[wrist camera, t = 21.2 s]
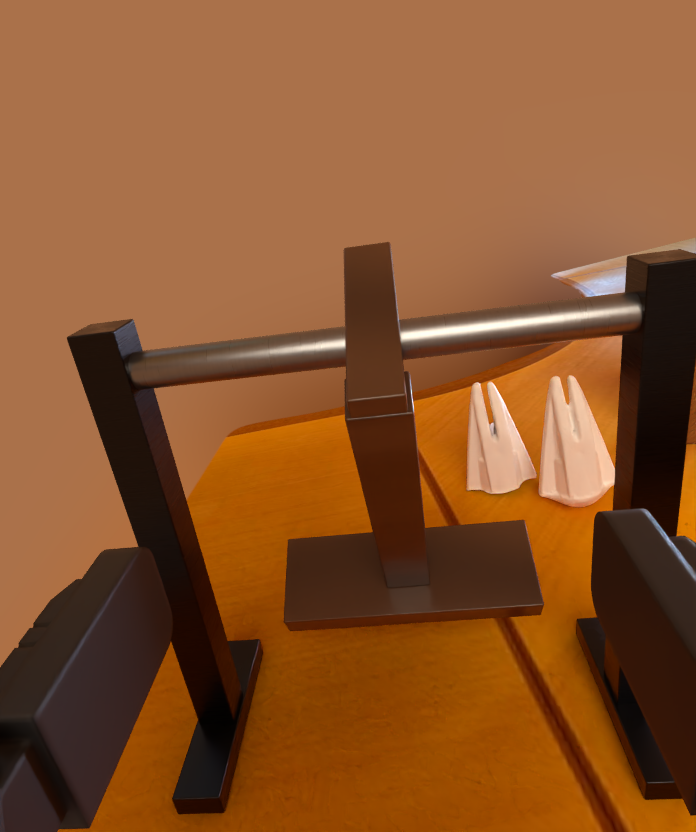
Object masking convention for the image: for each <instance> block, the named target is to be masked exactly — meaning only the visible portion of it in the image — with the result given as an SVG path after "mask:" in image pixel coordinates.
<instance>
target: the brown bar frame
mask: <svg viewBox="0 0 696 832" xmlns="http://www.w3.org/2000/svg"><path fill="white" fill-rule="evenodd" d="M344 294H345V347H346V379H345V421H346V425H347V429H348V433H349V437H350V441H351V445H352V449H353V453H354V457H355V461H356V465H357V469H358V473H359V477H360V481H361V485H362V489H363V493H364V497H365V501H366V505H367V510H368V514H369V518H370V522H371V526H372V530H373V532H372V533H360V534H348V535H336V536H324V537H311V538H299V539H289V540H288V550H287V569H286V588H285V606H284V623H285V625H286V626H287V627H288V629H289V630H290V631H302V630H318V629H333V628H348V627H364V626H379V625H394V624H409V623H425V622H440V621H455V620H471V619H486V618H501V617H517V616H532V615H541V612H542V609H543V606H544V602H543V598H542V593H541V589H540V585H539V580H538V576H537V572H536V568H535V563H534V559H533V555H532V550H531V546H530V542H529V537H528V533H527V529H526V524H525V521H524V520H517V521H505V522H493V523H481V524H468V525H456V526H444V527H432V528H425V523H424V513H423V502H422V491H421V480H420V469H419V458H418V448H417V437H416V426H415V415H414V406H413V397H412V388H411V379H410V373H409V372H407V371H406V372H404V366H403V356H402V347H401V337H400V328H399V319H398V309H397V300H396V290H395V280H394V271H393V261H392V252H391V244H390V242H385V243H378V244H371V245H363V246H357V247H349V248H345V249H344Z"/></svg>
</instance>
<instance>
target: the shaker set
mask: <svg viewBox="0 0 696 832" xmlns="http://www.w3.org/2000/svg"><path fill="white" fill-rule="evenodd" d="M567 384H568V391H569V398H570V402H569V405H567V404H566V401H565V397H564V393H563V389H562V385H561V381H560V378H559V377H558V376H554V377H552V378H551V379H550V383H549V388H548V395H547V401H546V409H545V419H544V429H543V439H542V451H541V466H540V480H539V495H540V496H542V497H546V498H549V499H552V500H555V501H558V502H560V503H563V504H565V505H568V506H571V507H584V506H588V505H591V504H593V503H595V502H596V501H597V500H599V499H600V498H601V497H602V496H603V495H604V494H605V493H606V492H607V490H608V489H609V488H610V487H611V486H613V485H614V480H615V468H614V466H613V463H612V460H611V458H610V455H609V453H608V451H607V448H606V446H605V443H604V441H603V438H602V436H601V433H600V431H599V429H598V426H597V424H596V422H595V419H594V417H593V415H592V412H591V410H590V408H589V405H588V403H587V400H586V398H585V396H584V394H583V391H582V389H581V387H580V386H579V384H578V382H577V380H576V379H575V377H573V376H571V375H569V376H568V378H567ZM487 388H488V396H489V400H490V405H491V409H492V413H493V420H494V422H493V423H491V424H490V425H489V422H488V417H487V412H486V408H485V403H484V399H483V395H482V390H481V387H480V384H479V383H474V384H473V385H472V390H471V397H470V407H469V422H468V443H467V477H466V478H467V486H466V489H467V491H469V490H484V491H485V492H487V493H490V494H493V493H507V492H510V491H512V490H515V489H518V488H519V487H520V484H521V483H522V482H523V481H525V480H528V479H530V478H532V479H533V478H534V479H535V478H536V477H537V475H536V472H535V469H534V467H533V465H532V464H533V463H532V462H531V457H529V456H528V452H527V449H525V446H524V444H523V442H522V440H521V437H520V435H519V433H518V431H517V429H516V428H517V427H515V424H514V422H513V420H512V418H511V416H510V414H509V412H508V410H507V407H506V405H505V403H504V401H503V399H502V398H501V396H500V394H499V392H498V390H497V389H496V387H495V385H494V384H493V383H492V382H488V384H487Z"/></svg>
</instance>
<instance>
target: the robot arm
mask: <svg viewBox="0 0 696 832" xmlns="http://www.w3.org/2000/svg"><path fill="white" fill-rule="evenodd" d="M591 591H592V598H593V604H594V608H595V611H596V615H597V617H598V620H599V622H600V624H601V627H602V629H603V631H604V633H605V635H606V637H607V639H608V641H609V644H610V646H611V648H612V650H613V652H614V654H615V656H616V658H617V660H618V663H619V665H620V667H621V669H622V671H623V673H624V675H625V677H626V680H627V682H628V684H629V686H630V688H631V690H632V692H633V694H634V696H635V699H636V701H637V703H638V705H639V707H640V709H641V711H642V713H643V716H644V718H645V720H646V722H647V724H648V726H649V728H650V730H651V732H652V735H653V737H654V739H655V741H656V743H657V745H658V747H659V749H660V751H661V754H662V756H663V758H664V760H665V762H666V764H667V766H668V768H669V771H670V773H671V775H672V777H673V779H674V781H675V783H676V785H677V787H678V790H679V792H680V794H681V796H682V798H683V800H684V802H685V804H686V807H687V809H688V811H689V813H690V815H696V543H695V542H693V541H692V540H690V539H689V538H687V537H686V536H675V537H668V536H667V534H666V533H665V532H664V530H663V529H662V528H661V526H660V525H659V524H658V523H657V521H656V520H655V519H654V517H653V516H652V515H651V513H650V512H649V511H648V510H646V509H644V508H641V509H628V510H615V511H603V512H598V513H597V514H596V516H595V519H594V532H593V553H592V573H591ZM172 631H173V617H172V611H171V607H170V604H169V601H168V598H167V595H166V592H165V589H164V586H163V583H162V580H161V577H160V574H159V571H158V568H157V565H156V562H155V559H154V556H153V554H152V552H151V551H150V549H149V548H147V547H134V548H120V549H108V550H104V551H103V552H101V553H100V554H99V556H98V557H97V558H96V560H95V561H94V563H93V564H92V565H91V567H90V568H89V570H88V571H87V573H86V574H85V575H84V577H83V578H82V579H77V580H75V581H74V582H73V583H71V584H70V585H69V586H68V587H66V588H65V589H64V590H63V591H61V592H60V593H59V594H58V595H56V596H55V597H54V598H53V599H52V600H50V602H49V603H48V604H47V606H46V607H45V609H44V610H43V611H42V612H41V614H40V615H39V616H38V618H37V619H36V621H35V622H34V626H33V628H30V629H29V630H28V631H27V633H26V634H25V635H24V636H23V638H22V639H21V640H20V642H19V647H18V648H15V649H14V650H13V651H12V653H11V654H10V655H9V656H8V658H7V659H6V660H5V662H4V663H3V665H2V666H1V667H0V832H57V831H58V829H83V828H90V826H91V824H92V821H93V819H94V817H95V815H96V812H97V810H98V808H99V805H100V803H101V801H102V798H103V796H104V794H105V792H106V789H107V787H108V785H109V782H110V780H111V778H112V776H113V773H114V771H115V769H116V766H117V764H118V762H119V759H120V757H121V755H122V753H123V750H124V748H125V746H126V743H127V741H128V739H129V737H130V734H131V732H132V730H133V727H134V725H135V723H136V721H137V718H138V716H139V714H140V711H141V709H142V707H143V704H144V702H145V700H146V698H147V695H148V693H149V691H150V688H151V686H152V684H153V682H154V679H155V677H156V675H157V672H158V670H159V668H160V665H161V663H162V661H163V659H164V656H165V654H166V652H167V649H168V647H169V644H170V641H171V637H172Z"/></svg>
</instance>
